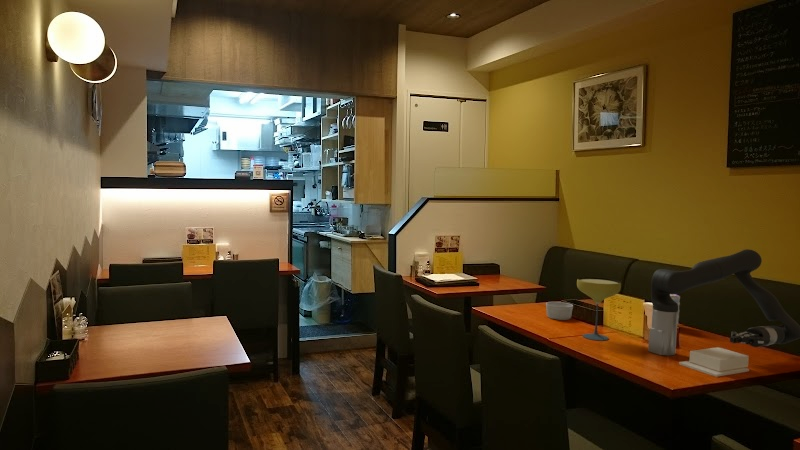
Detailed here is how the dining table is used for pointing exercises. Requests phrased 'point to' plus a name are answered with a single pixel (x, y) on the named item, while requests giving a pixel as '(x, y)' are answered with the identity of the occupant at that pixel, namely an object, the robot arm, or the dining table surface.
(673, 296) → the candy box
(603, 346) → the dining table surface
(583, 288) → the cocktail glass
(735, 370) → the cutting board
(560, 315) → the ramekin
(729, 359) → the tile
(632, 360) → the dining table surface
